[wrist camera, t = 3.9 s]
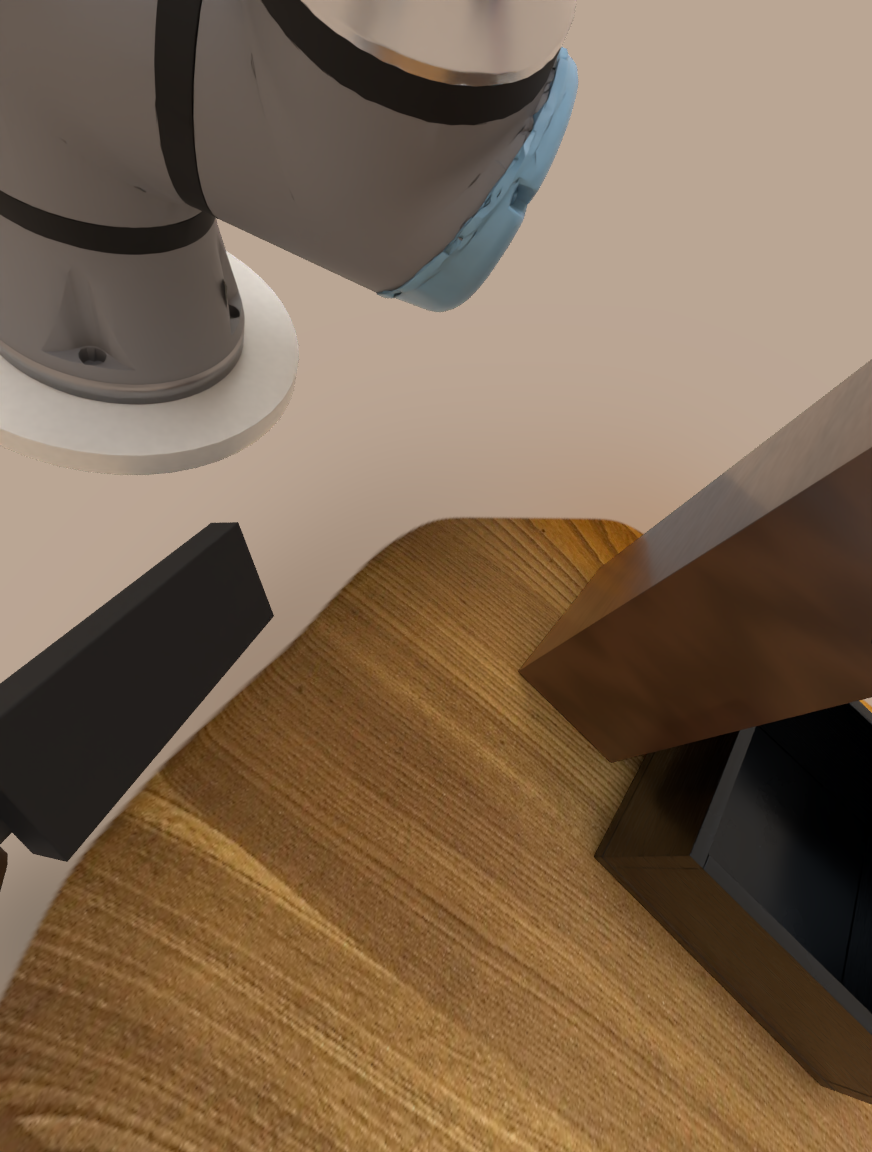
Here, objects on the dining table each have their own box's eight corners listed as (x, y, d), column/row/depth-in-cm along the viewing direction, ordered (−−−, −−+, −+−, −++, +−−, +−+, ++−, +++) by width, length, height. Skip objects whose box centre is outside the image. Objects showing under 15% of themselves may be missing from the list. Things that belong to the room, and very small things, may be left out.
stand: (517, 671, 33) (1393, 116, 8) (600, 567, 40) (1222, 89, 15) (610, 763, 33) (1856, 451, 8) (678, 641, 39) (1463, 267, 15)
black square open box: (593, 856, 29) (689, 855, 23) (692, 664, 39) (780, 627, 33) (821, 1086, 28) (986, 1147, 22) (867, 829, 37) (992, 823, 31)
